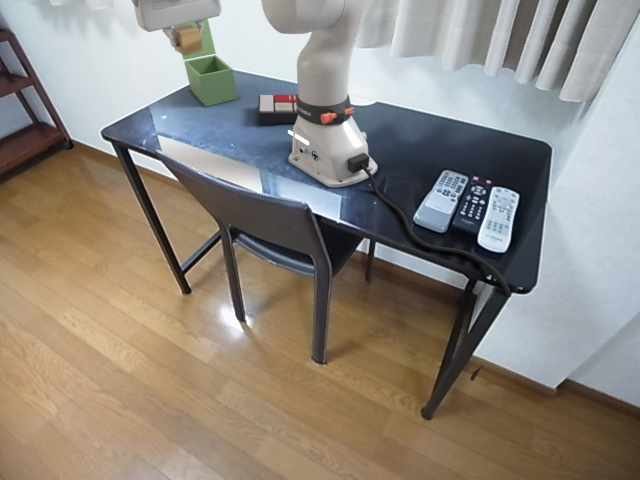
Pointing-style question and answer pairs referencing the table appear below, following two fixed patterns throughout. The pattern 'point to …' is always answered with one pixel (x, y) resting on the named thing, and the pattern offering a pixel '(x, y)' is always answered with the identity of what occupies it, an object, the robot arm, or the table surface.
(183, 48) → the block
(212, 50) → the lid
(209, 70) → the chest
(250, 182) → the table surface
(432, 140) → the table surface
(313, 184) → the table surface
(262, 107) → the black rectangular box
